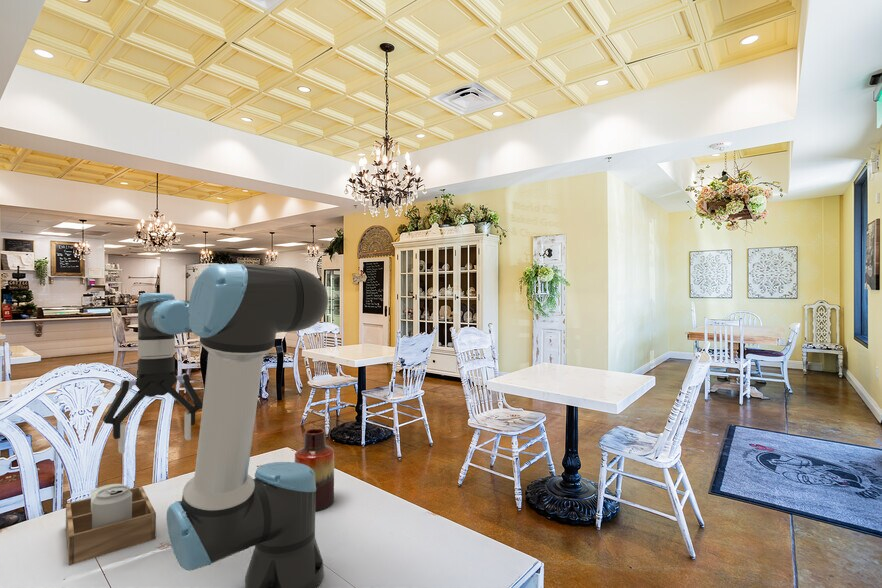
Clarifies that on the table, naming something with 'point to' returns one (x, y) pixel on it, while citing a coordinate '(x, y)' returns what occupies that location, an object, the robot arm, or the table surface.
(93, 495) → the pale curved piece
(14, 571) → the table surface
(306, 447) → the vase
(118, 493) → the can
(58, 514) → the table surface
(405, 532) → the table surface
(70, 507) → the rack
